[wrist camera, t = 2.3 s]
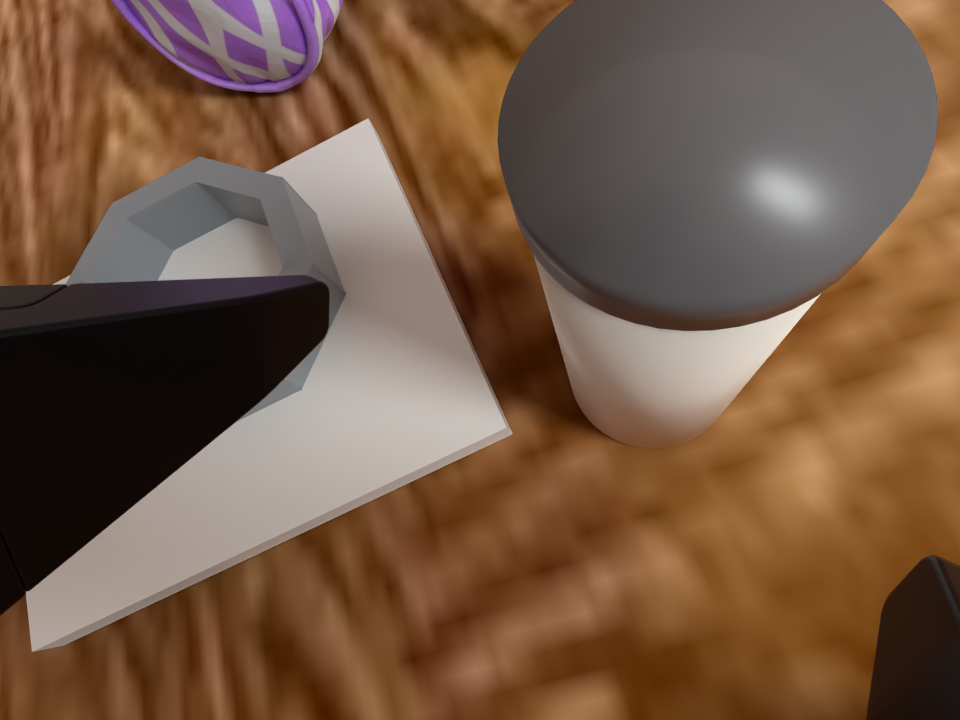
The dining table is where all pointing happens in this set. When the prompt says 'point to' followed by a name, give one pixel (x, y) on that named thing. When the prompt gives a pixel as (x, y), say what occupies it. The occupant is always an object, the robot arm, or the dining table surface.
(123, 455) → the robot arm
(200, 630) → the dining table surface
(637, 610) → the dining table surface
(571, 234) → the canister
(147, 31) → the pencil case
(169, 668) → the dining table surface
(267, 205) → the socket plate
